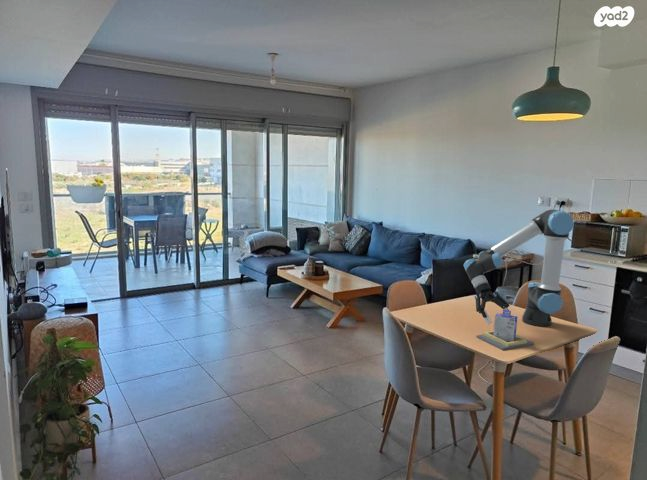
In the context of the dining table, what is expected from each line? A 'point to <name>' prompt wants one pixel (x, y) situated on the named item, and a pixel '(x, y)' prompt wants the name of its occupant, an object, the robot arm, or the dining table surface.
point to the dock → (504, 344)
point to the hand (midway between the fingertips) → (500, 321)
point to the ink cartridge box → (505, 326)
